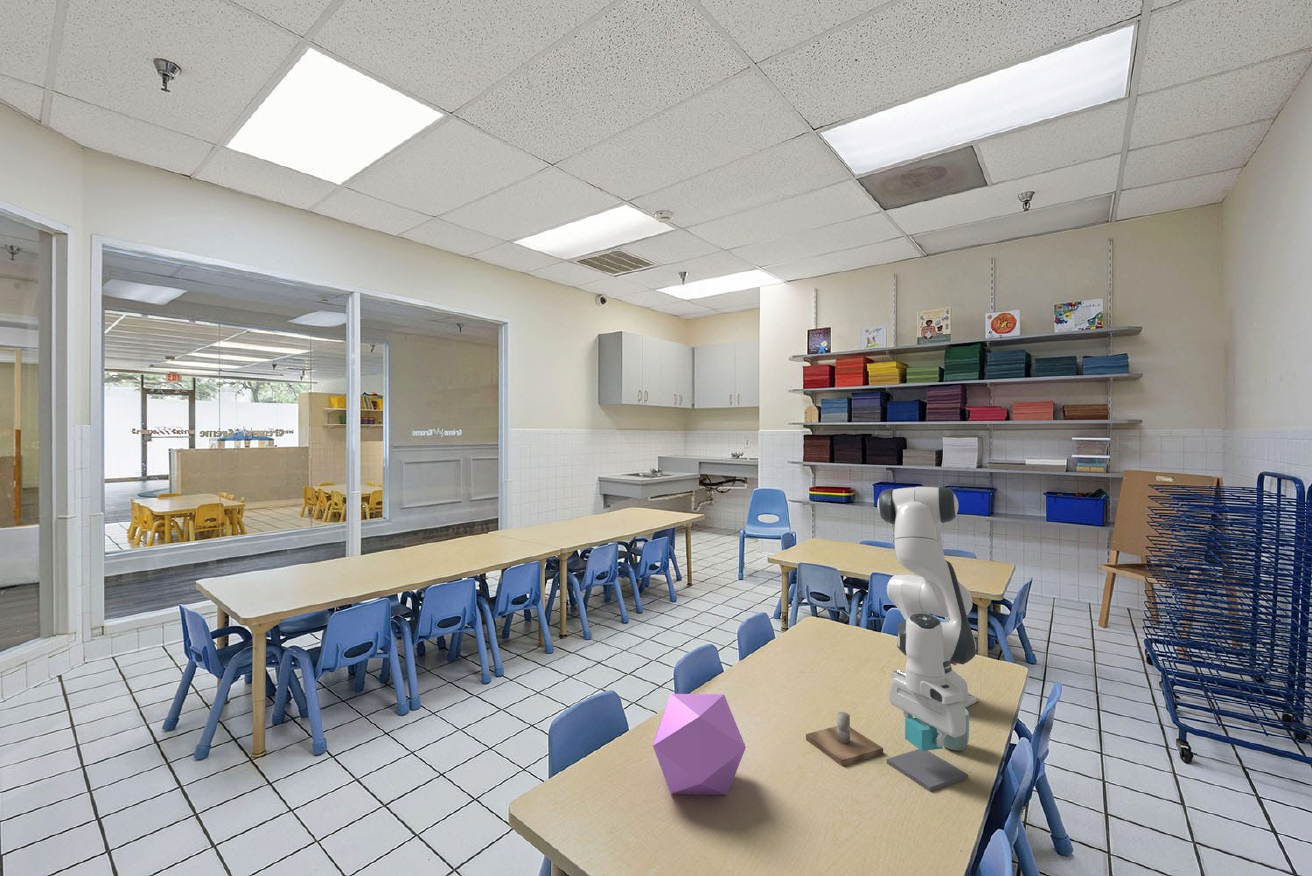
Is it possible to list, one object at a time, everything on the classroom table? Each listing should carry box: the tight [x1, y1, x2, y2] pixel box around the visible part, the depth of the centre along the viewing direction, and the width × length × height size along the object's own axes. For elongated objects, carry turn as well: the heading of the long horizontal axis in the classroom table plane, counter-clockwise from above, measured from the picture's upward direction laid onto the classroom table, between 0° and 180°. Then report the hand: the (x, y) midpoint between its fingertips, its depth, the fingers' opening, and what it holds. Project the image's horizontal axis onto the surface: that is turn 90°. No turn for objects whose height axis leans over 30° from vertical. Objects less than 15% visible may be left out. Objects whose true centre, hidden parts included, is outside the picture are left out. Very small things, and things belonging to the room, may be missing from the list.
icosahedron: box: [652, 693, 747, 796], centre depth 133 cm, size 22×21×25 cm
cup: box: [943, 708, 970, 752], centre depth 150 cm, size 8×8×10 cm
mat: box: [886, 748, 969, 792], centre depth 139 cm, size 13×13×1 cm
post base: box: [805, 711, 884, 767], centre depth 150 cm, size 14×14×8 cm
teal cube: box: [904, 717, 944, 751], centre depth 139 cm, size 6×6×5 cm
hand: (925, 737), depth 139 cm, fingers closed on teal cube, 6 cm apart
